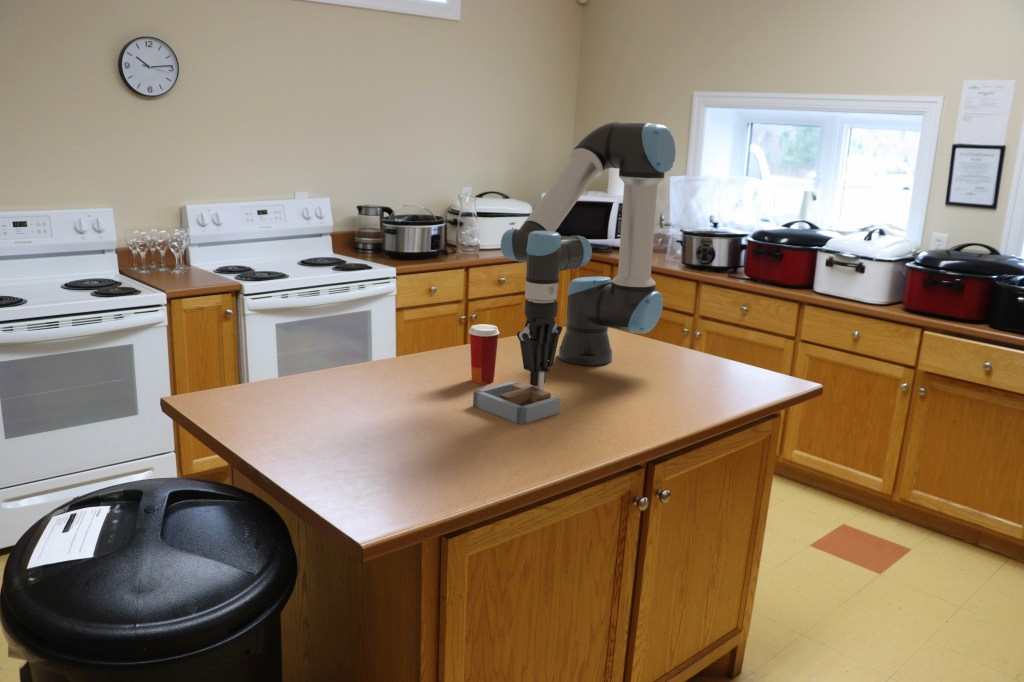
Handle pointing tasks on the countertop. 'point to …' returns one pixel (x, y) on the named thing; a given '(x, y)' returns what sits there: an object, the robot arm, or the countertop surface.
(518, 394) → the tee block
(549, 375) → the countertop surface
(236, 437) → the countertop surface
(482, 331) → the paper cup
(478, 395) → the corral
